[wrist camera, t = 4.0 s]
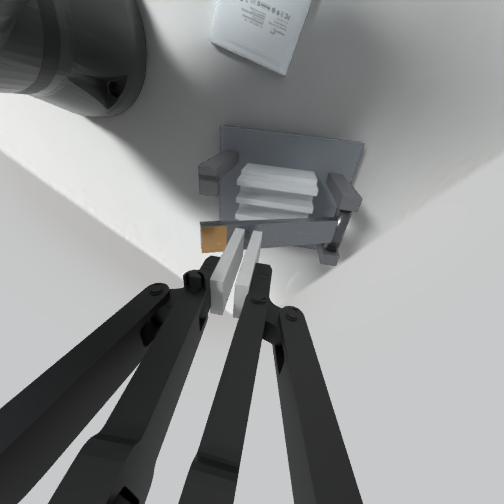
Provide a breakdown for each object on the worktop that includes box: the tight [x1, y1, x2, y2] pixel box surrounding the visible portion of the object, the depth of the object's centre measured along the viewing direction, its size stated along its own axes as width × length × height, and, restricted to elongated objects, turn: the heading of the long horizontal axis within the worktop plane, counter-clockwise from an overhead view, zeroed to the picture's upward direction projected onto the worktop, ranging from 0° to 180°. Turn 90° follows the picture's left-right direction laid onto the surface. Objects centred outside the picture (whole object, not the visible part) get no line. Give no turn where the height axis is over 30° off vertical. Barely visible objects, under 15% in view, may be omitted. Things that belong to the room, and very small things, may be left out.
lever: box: [200, 207, 352, 253], centre depth 19 cm, size 14×4×1 cm, turn 85°
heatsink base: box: [198, 126, 364, 266], centre depth 24 cm, size 16×14×10 cm
